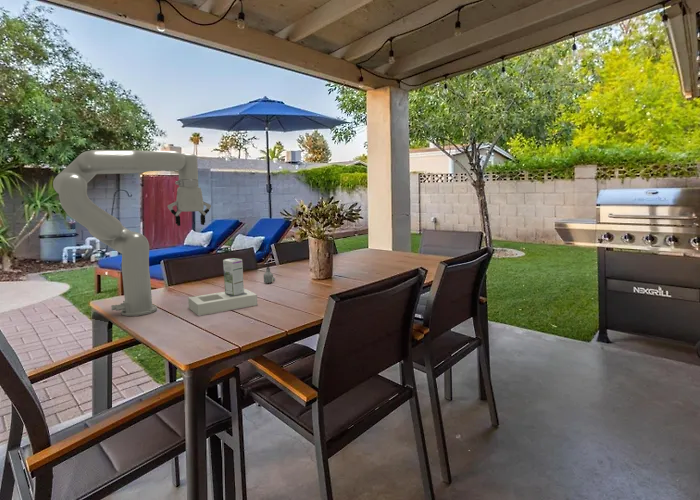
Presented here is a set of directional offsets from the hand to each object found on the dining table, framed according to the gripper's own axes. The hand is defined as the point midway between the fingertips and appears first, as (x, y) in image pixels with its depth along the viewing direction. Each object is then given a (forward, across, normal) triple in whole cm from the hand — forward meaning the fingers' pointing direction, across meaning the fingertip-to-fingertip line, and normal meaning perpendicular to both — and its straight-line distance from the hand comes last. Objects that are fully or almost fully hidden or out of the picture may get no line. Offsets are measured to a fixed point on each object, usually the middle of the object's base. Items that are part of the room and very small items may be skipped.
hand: (190, 225), depth 175 cm
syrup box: (+28, +12, -16) cm, 35 cm away
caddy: (+33, +7, -17) cm, 37 cm away
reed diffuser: (+32, +39, +13) cm, 52 cm away
